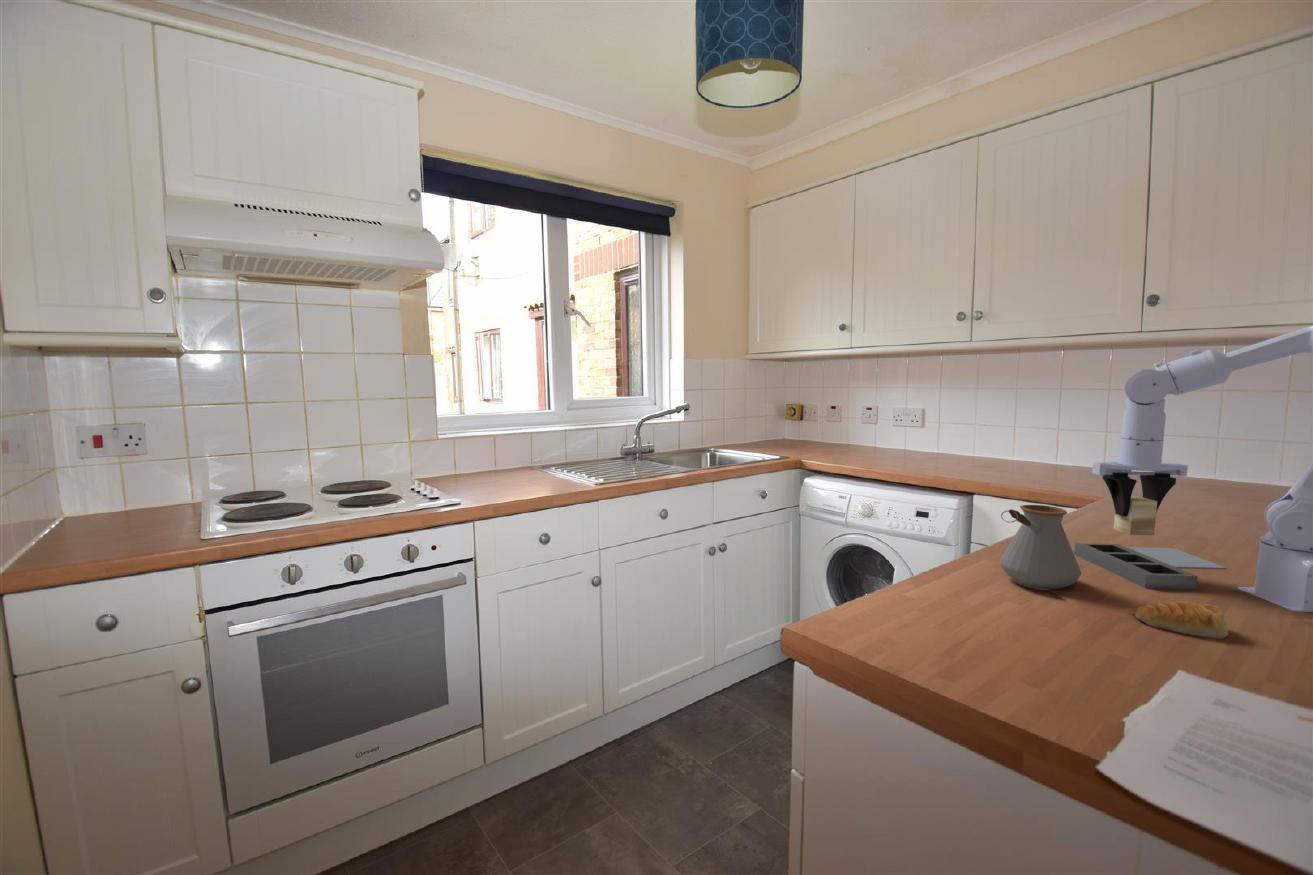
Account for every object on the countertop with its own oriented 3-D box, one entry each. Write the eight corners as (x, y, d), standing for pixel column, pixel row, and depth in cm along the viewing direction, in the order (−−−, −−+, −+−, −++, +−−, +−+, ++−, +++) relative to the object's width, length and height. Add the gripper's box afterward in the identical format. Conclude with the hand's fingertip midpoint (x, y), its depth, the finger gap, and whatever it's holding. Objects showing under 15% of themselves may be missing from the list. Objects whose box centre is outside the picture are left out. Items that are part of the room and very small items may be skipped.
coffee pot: (1013, 567, 108) (1019, 486, 106) (1088, 584, 99) (1096, 497, 97) (963, 595, 94) (968, 503, 92) (1045, 618, 85) (1053, 517, 84)
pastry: (1146, 632, 81) (1148, 605, 81) (1127, 613, 87) (1129, 589, 87) (1233, 642, 78) (1236, 615, 78) (1206, 623, 84) (1209, 597, 84)
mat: (1226, 570, 106) (1226, 567, 106) (1156, 569, 106) (1156, 566, 106) (1172, 550, 118) (1172, 547, 117) (1109, 549, 118) (1110, 546, 118)
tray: (1196, 591, 96) (1197, 575, 95) (1144, 590, 96) (1145, 574, 96) (1117, 557, 113) (1118, 544, 113) (1074, 556, 114) (1075, 543, 114)
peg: (1154, 535, 102) (1157, 501, 101) (1129, 534, 102) (1132, 501, 102) (1136, 529, 106) (1139, 496, 105) (1113, 528, 106) (1116, 496, 105)
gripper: (1167, 436, 106) (1160, 510, 107) (1083, 436, 107) (1077, 509, 108) (1200, 441, 99) (1192, 520, 100) (1110, 440, 100) (1104, 518, 101)
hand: (1135, 515), depth 104 cm, fingers closed on peg, 4 cm apart
